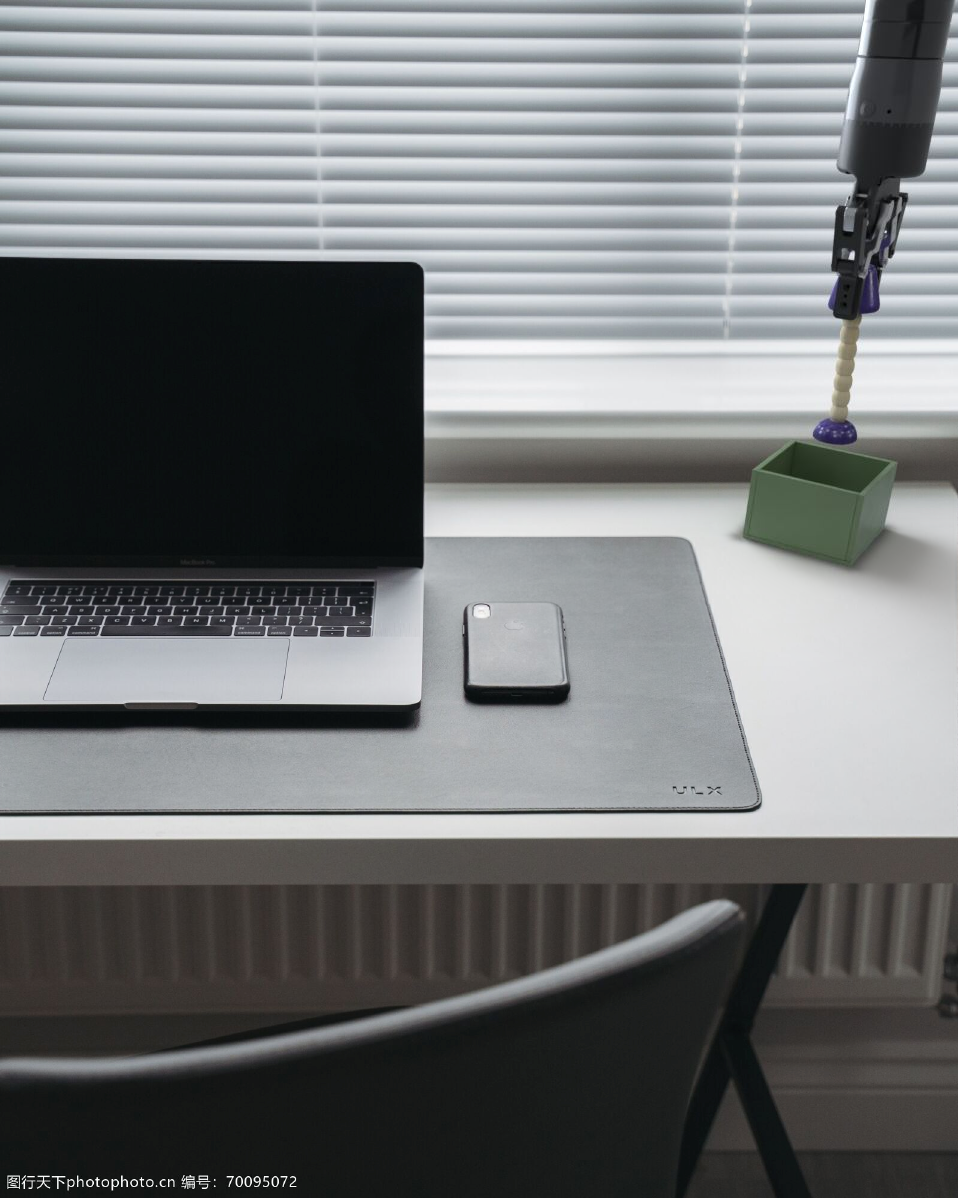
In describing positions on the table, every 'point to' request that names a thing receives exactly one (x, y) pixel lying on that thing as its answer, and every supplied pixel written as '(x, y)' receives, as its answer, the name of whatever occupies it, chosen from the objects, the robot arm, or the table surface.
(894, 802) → the table surface
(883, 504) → the bin
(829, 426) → the toy lamp
